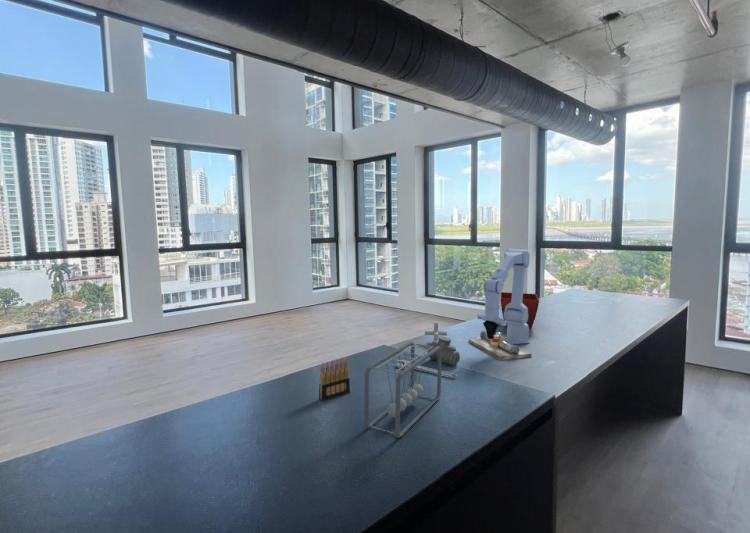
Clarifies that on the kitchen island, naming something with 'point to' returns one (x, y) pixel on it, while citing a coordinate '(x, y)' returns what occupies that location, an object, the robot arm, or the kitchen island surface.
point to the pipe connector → (435, 332)
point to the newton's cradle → (411, 393)
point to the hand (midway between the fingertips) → (490, 338)
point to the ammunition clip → (334, 380)
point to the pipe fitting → (445, 351)
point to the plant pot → (528, 300)
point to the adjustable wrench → (426, 369)
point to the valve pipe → (501, 343)
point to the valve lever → (496, 337)
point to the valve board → (498, 350)
